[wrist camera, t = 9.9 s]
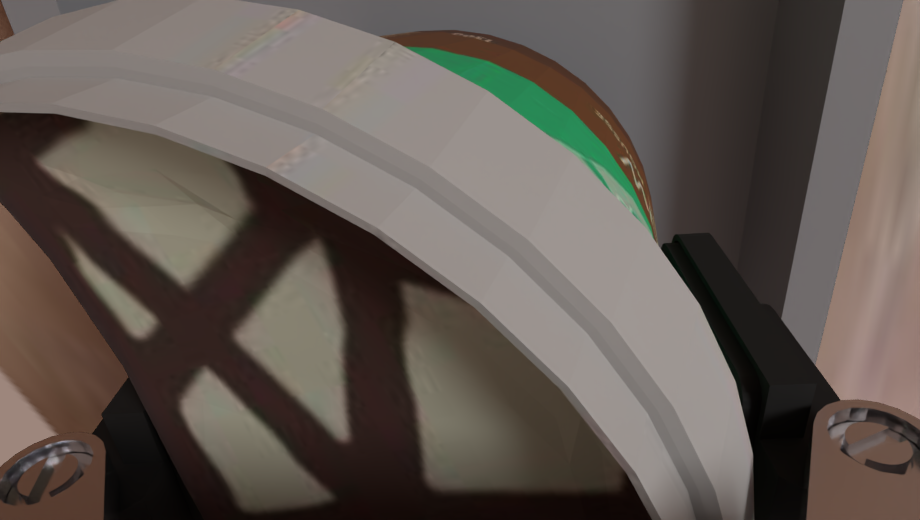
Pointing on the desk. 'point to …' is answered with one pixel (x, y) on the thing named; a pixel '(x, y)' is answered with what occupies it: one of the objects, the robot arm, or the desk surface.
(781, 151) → the parts tray
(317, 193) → the food container
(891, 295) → the desk surface
